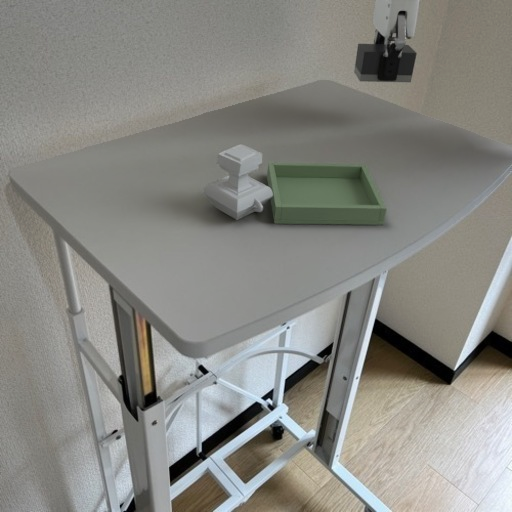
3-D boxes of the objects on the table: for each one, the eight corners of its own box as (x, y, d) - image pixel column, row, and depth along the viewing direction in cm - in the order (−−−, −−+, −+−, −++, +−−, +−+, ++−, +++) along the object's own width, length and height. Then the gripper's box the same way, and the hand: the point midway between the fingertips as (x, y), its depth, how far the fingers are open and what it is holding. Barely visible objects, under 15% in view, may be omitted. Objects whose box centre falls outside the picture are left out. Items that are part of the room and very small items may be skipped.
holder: (362, 179, 83) (365, 164, 82) (383, 225, 73) (386, 208, 72) (266, 178, 82) (268, 162, 81) (274, 223, 72) (275, 206, 70)
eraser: (403, 73, 99) (408, 44, 97) (410, 82, 95) (417, 52, 92) (354, 72, 99) (358, 43, 96) (359, 81, 95) (364, 51, 92)
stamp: (196, 205, 75) (196, 148, 70) (232, 189, 79) (233, 134, 74) (243, 233, 70) (246, 173, 65) (278, 214, 74) (283, 157, 69)
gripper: (444, -32, 80) (417, 91, 90) (410, -49, 93) (390, 60, 104) (393, -34, 79) (372, 91, 90) (366, -50, 93) (351, 59, 103)
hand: (382, 73), depth 97 cm, fingers closed on eraser, 5 cm apart
